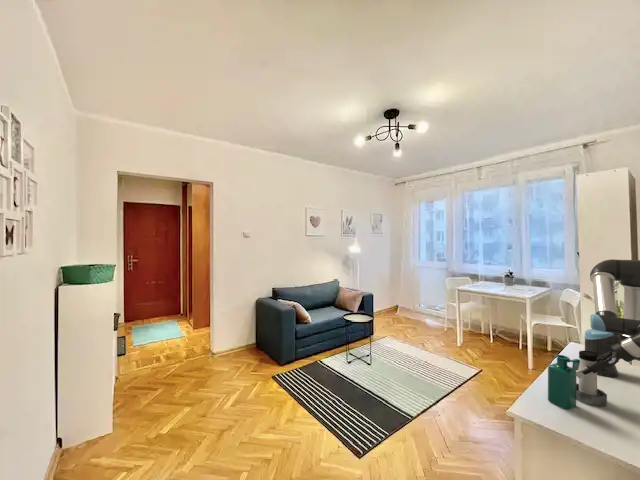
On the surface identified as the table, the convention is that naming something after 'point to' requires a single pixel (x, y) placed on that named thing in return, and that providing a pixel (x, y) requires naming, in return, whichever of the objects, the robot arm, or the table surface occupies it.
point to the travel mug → (590, 381)
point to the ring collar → (592, 398)
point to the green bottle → (562, 382)
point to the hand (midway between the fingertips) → (577, 373)
